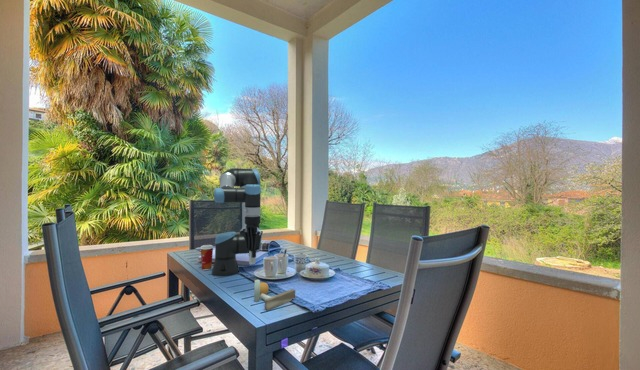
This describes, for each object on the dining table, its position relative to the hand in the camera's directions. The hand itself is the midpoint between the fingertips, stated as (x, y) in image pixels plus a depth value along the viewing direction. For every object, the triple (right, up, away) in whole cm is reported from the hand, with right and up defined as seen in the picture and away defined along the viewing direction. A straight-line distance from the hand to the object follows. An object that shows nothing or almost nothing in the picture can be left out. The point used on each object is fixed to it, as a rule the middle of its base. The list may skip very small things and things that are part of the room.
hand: (252, 263), depth 139 cm
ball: (+6, -10, -7) cm, 13 cm away
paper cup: (-37, -13, +36) cm, 54 cm away
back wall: (+16, -13, -16) cm, 26 cm away
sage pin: (+5, -13, -13) cm, 19 cm away
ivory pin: (+7, -12, -10) cm, 17 cm away
